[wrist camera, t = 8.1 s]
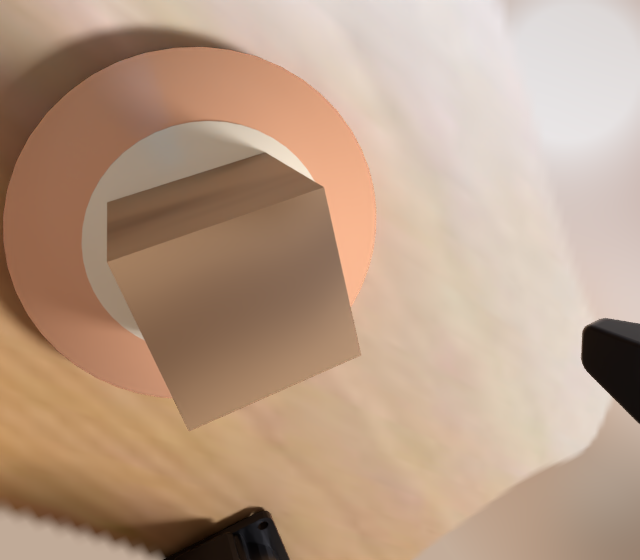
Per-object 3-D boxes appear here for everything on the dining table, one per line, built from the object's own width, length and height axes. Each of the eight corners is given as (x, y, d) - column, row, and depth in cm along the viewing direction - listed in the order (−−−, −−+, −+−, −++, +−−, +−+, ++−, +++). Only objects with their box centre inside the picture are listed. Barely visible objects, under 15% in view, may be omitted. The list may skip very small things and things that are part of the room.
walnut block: (301, 285, 18) (360, 355, 14) (168, 337, 17) (188, 431, 13) (265, 152, 16) (323, 187, 11) (107, 202, 14) (106, 262, 10)
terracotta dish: (383, 311, 22) (398, 325, 20) (109, 427, 19) (109, 451, 18) (326, 6, 16) (342, 2, 15) (-80, 109, 13) (-97, 114, 12)
